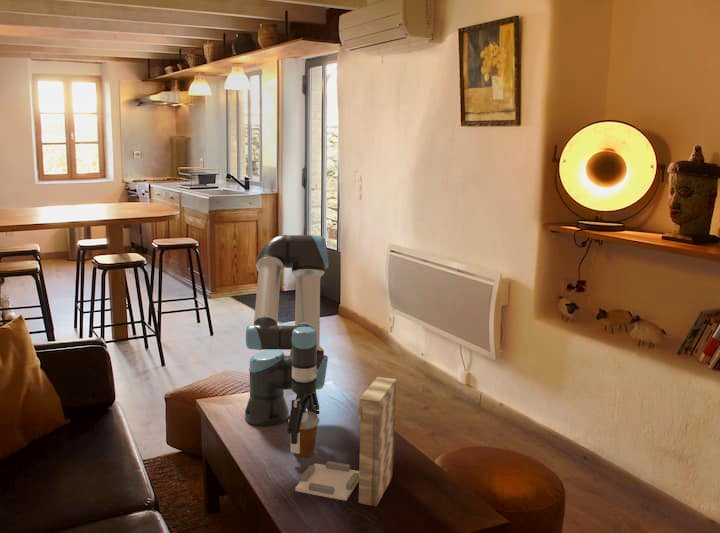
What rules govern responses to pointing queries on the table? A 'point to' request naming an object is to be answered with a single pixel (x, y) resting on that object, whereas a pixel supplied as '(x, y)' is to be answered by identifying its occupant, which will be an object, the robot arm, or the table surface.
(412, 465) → the table surface
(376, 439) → the upright plywood slab
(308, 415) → the disposable coffee cup
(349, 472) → the seat plate
